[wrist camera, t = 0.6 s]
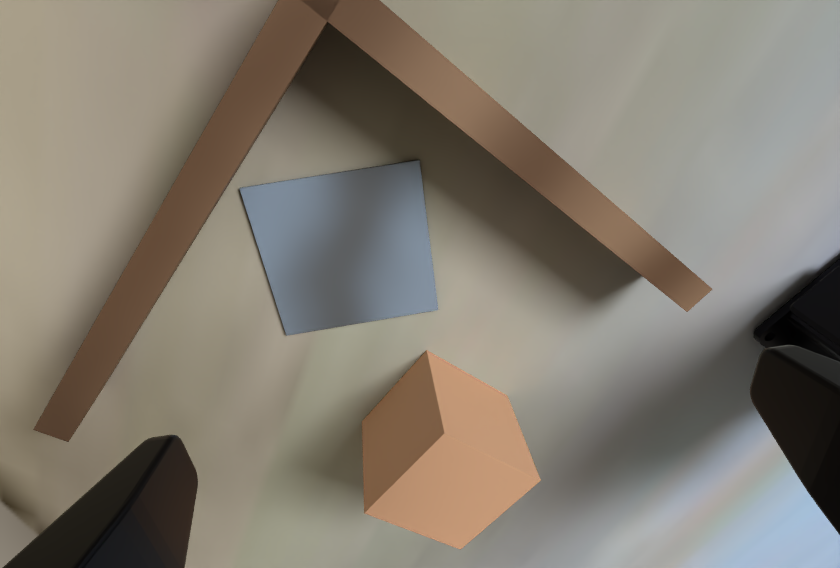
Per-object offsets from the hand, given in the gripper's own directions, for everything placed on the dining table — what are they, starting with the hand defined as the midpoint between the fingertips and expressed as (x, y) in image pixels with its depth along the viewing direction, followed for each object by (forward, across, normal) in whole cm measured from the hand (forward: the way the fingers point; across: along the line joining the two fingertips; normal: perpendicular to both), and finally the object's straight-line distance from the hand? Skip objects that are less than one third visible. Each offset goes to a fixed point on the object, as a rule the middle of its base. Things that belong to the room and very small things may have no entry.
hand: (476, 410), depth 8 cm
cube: (+12, 0, +12) cm, 17 cm away
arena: (+12, +2, +6) cm, 13 cm away
